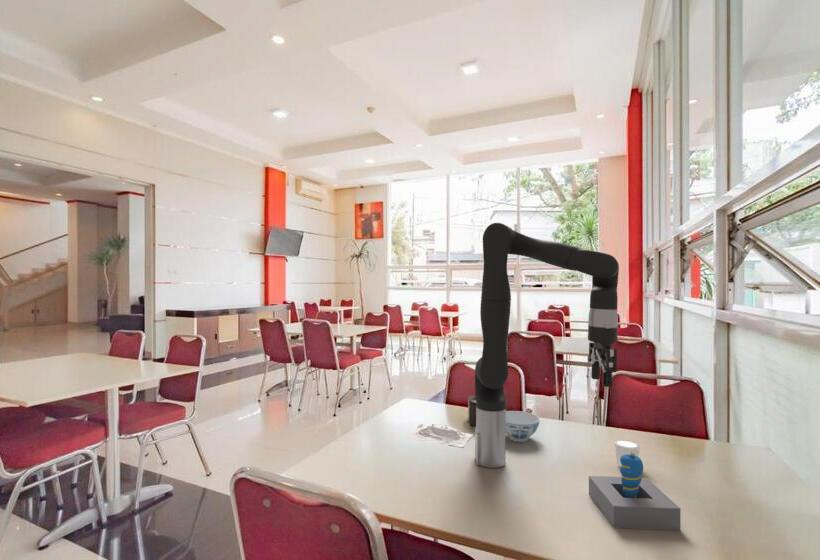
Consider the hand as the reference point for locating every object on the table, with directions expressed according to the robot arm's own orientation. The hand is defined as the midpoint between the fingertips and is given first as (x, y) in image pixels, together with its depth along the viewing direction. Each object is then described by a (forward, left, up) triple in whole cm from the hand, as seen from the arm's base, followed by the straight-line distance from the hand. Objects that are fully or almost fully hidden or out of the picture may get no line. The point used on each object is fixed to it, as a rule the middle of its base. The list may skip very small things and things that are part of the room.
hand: (601, 382), depth 115 cm
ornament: (+2, -12, -29) cm, 32 cm away
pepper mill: (-27, +53, -29) cm, 66 cm away
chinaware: (-16, +34, -29) cm, 48 cm away
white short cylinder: (+13, +13, -29) cm, 34 cm away
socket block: (+2, -13, -29) cm, 32 cm away
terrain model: (-44, +34, -30) cm, 63 cm away
